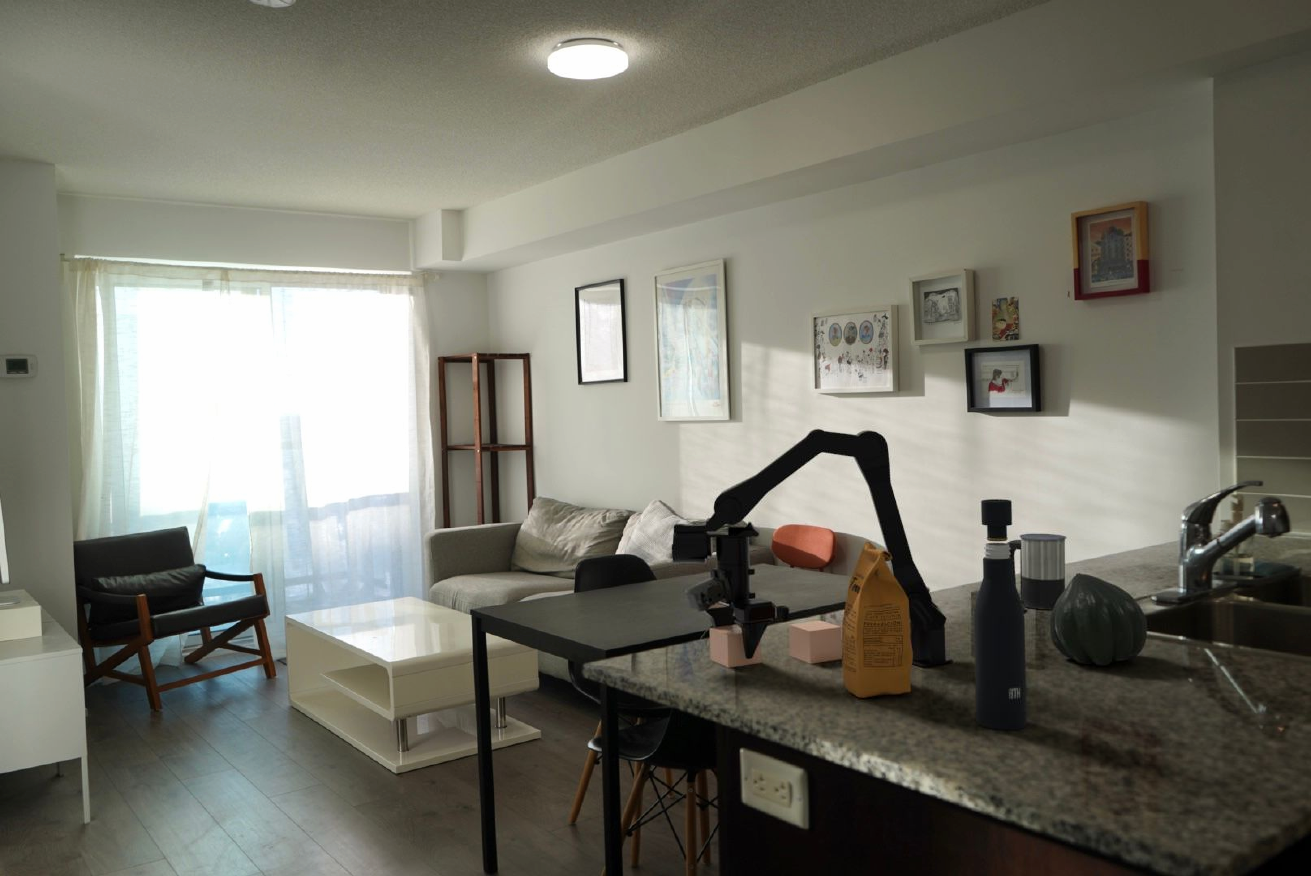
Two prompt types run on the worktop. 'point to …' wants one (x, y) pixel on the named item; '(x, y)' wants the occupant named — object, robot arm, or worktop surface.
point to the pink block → (730, 647)
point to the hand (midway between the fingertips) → (735, 653)
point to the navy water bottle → (999, 630)
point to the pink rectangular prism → (815, 641)
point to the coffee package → (876, 629)
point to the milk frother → (1040, 569)
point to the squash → (1097, 622)
